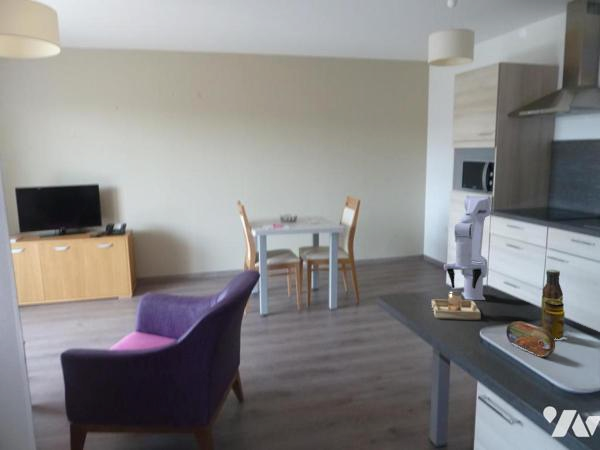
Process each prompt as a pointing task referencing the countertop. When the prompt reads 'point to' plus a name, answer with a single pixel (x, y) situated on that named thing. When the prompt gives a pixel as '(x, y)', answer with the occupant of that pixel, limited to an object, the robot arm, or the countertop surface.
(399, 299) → the countertop surface
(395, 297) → the countertop surface
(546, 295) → the sauce bottle
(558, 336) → the condiment
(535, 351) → the tin
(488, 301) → the countertop surface
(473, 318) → the tray
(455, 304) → the can
